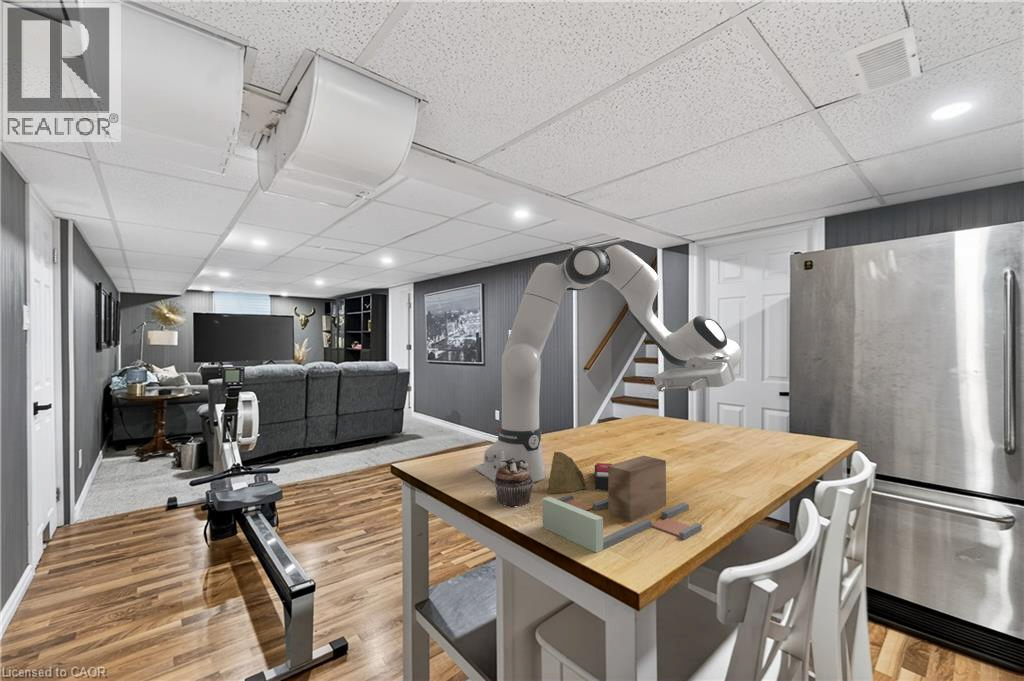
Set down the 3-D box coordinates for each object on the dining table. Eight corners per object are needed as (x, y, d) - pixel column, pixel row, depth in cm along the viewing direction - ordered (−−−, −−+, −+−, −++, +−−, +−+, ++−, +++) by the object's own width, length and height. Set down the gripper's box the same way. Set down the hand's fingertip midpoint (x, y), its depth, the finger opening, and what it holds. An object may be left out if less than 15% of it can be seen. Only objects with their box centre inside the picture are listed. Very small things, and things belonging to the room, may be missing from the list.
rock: (589, 475, 119) (554, 467, 121) (591, 455, 113) (554, 448, 116) (583, 510, 110) (545, 501, 113) (585, 490, 105) (545, 482, 108)
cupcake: (486, 503, 104) (486, 462, 104) (508, 491, 112) (508, 453, 112) (519, 511, 99) (519, 468, 99) (540, 498, 107) (540, 458, 107)
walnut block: (608, 514, 97) (608, 465, 97) (644, 499, 106) (643, 455, 106) (630, 522, 93) (630, 471, 93) (666, 507, 101) (665, 460, 102)
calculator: (632, 463, 127) (637, 476, 112) (632, 478, 126) (637, 492, 112) (594, 461, 129) (595, 473, 114) (594, 476, 128) (595, 490, 114)
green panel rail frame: (519, 516, 96) (519, 489, 96) (612, 485, 117) (612, 463, 117) (630, 569, 73) (630, 534, 73) (721, 519, 94) (720, 492, 94)
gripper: (667, 362, 127) (638, 378, 119) (735, 356, 110) (706, 375, 102) (673, 382, 127) (645, 400, 119) (741, 379, 110) (714, 400, 102)
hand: (674, 388), depth 111 cm, fingers open, 8 cm apart
